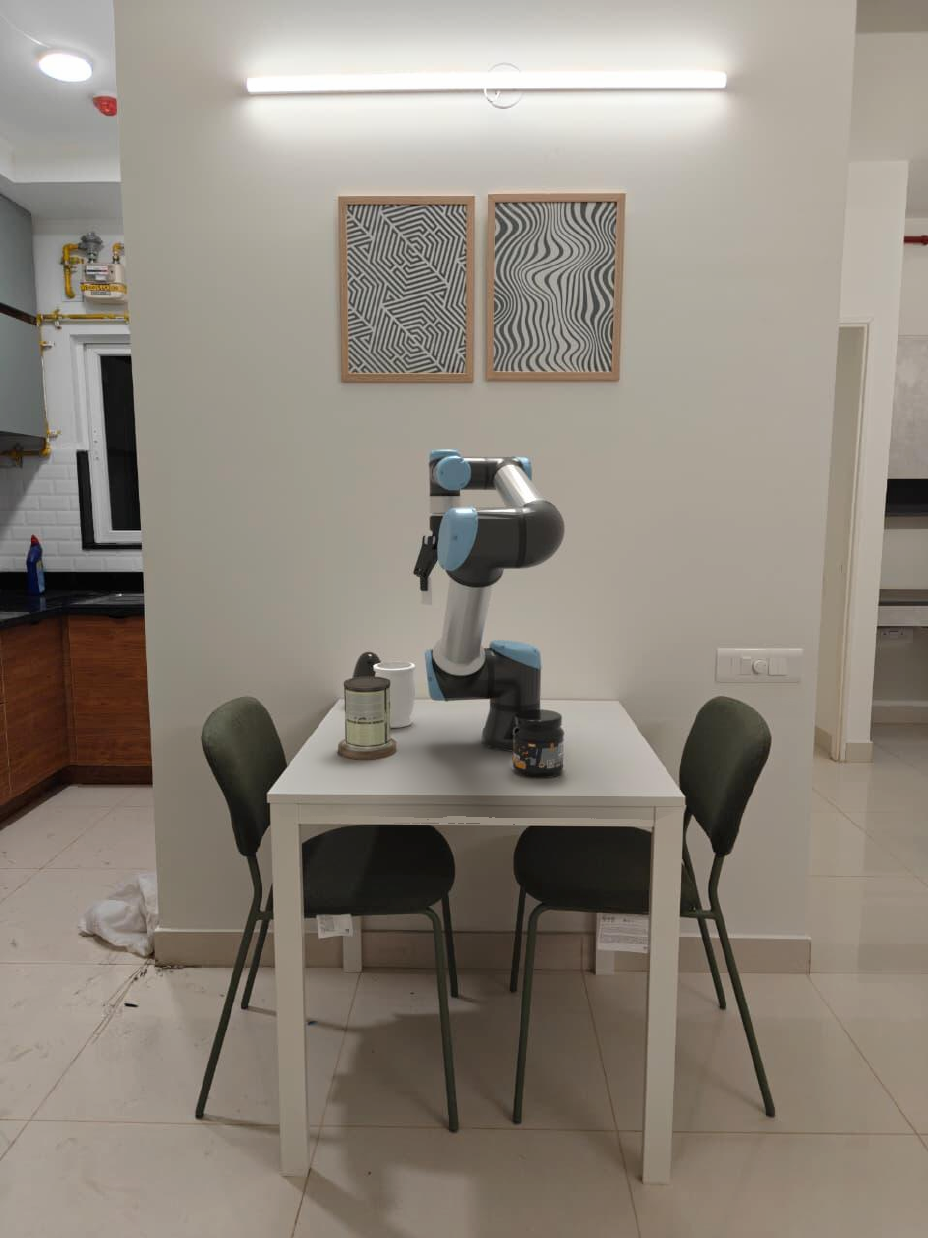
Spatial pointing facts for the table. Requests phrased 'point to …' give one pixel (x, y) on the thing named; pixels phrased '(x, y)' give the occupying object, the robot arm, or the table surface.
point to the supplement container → (538, 743)
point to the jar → (399, 690)
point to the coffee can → (367, 712)
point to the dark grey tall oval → (366, 665)
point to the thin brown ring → (366, 751)
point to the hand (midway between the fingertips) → (445, 601)
